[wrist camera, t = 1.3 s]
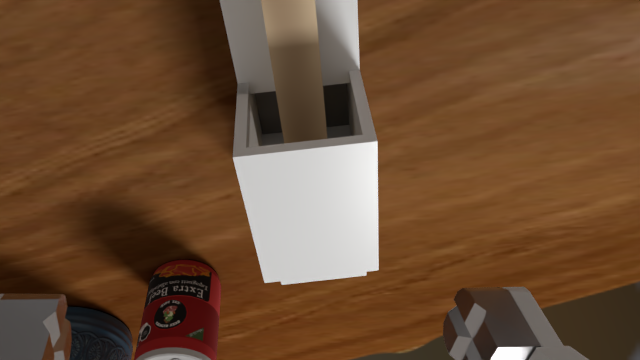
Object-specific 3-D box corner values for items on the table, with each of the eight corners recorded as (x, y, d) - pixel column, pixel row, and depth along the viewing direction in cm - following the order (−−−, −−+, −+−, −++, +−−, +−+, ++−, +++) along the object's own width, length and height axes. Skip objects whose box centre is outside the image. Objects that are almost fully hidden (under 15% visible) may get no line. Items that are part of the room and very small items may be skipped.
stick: (300, -139, 30) (303, -124, 27) (326, 140, 43) (330, 166, 41) (243, -133, 30) (241, -118, 27) (287, 144, 43) (288, 171, 41)
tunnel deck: (345, -200, 30) (374, -161, 22) (363, 258, 58) (379, 348, 50) (186, -183, 30) (158, -137, 22) (281, 267, 58) (283, 359, 50)
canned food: (214, 254, 55) (206, 350, 47) (227, 298, 61) (221, 391, 53) (141, 260, 55) (120, 358, 47) (160, 304, 61) (144, 399, 53)
